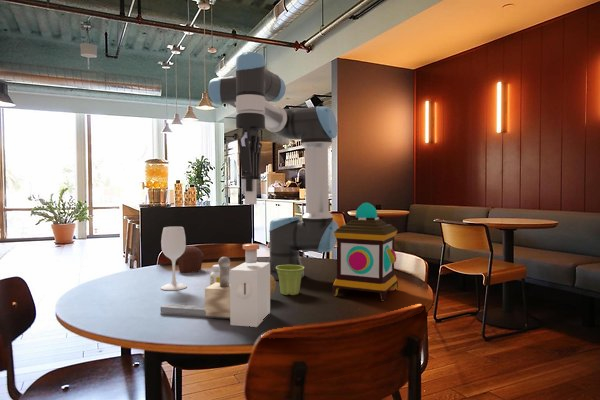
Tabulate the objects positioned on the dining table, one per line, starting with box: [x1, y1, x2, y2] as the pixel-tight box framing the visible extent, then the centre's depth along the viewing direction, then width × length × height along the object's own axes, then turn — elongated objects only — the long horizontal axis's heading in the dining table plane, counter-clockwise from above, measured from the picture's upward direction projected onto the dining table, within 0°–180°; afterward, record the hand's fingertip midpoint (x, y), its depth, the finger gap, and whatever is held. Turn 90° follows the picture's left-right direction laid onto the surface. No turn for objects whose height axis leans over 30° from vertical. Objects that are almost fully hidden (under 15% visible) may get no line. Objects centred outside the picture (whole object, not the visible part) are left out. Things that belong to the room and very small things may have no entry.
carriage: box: [204, 256, 231, 317], centre depth 110 cm, size 8×7×15 cm
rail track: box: [159, 303, 230, 320], centre depth 112 cm, size 22×3×2 cm, turn 78°
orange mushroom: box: [242, 243, 260, 263], centre depth 108 cm, size 4×4×5 cm
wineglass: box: [160, 226, 188, 291], centre depth 142 cm, size 9×9×21 cm
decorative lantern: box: [332, 202, 399, 301], centre depth 136 cm, size 20×20×30 cm
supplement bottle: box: [209, 263, 220, 286], centre depth 132 cm, size 5×5×10 cm
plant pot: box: [276, 265, 305, 296], centre depth 135 cm, size 9×9×9 cm
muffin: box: [177, 245, 205, 274], centre depth 172 cm, size 12×11×10 cm
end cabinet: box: [229, 261, 271, 328], centre depth 108 cm, size 7×13×14 cm, turn 168°
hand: (250, 204), depth 108 cm, fingers closed
